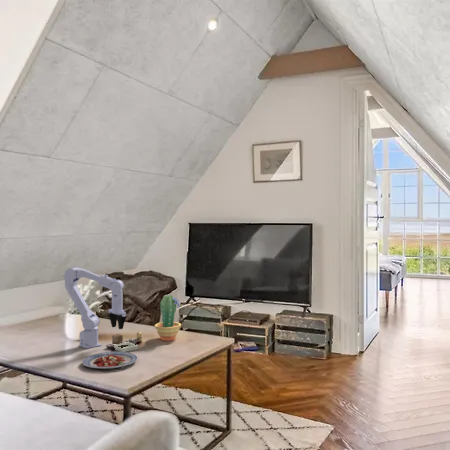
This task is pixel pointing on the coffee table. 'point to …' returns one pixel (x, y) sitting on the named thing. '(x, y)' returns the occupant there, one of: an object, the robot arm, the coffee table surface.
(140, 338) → the brass cylinder knob
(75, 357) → the coffee table surface
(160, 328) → the potted cactus
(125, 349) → the tray
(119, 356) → the ceramic plate
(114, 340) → the block
